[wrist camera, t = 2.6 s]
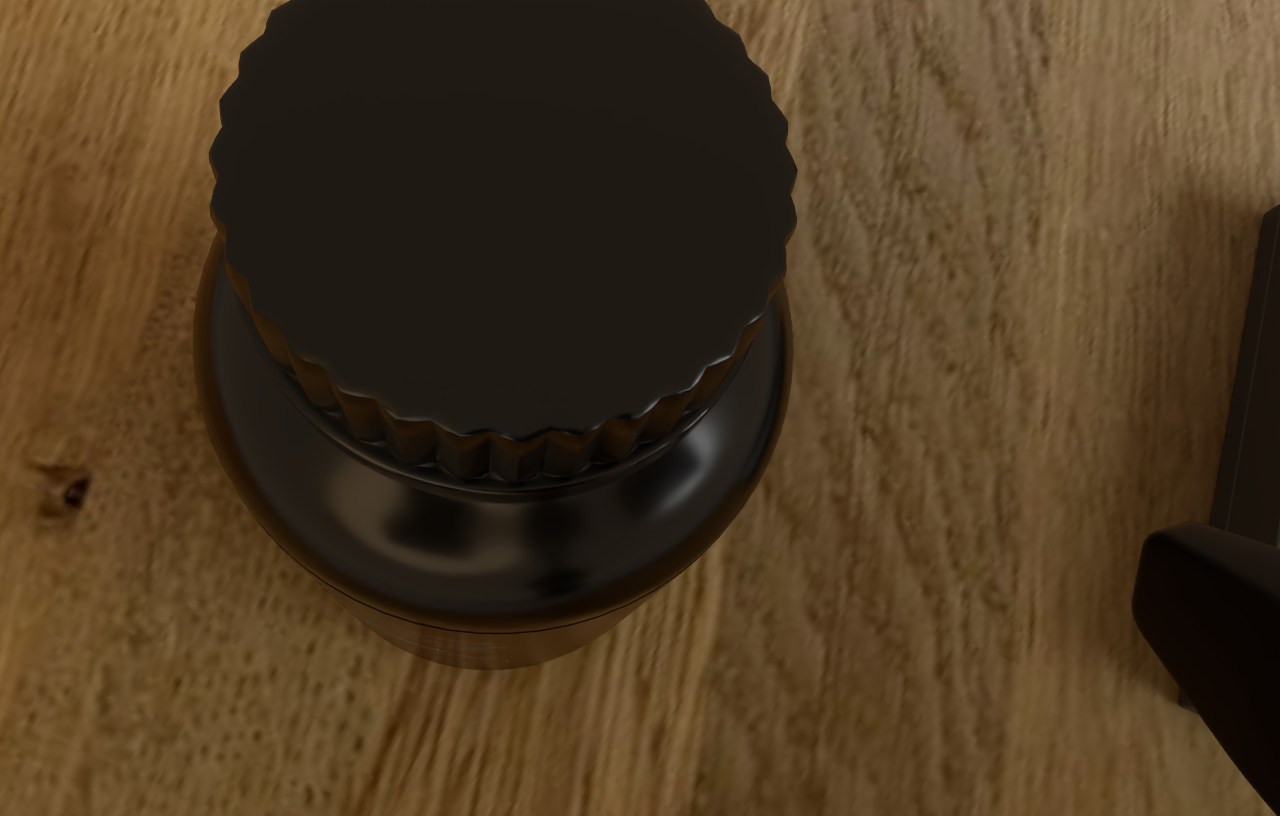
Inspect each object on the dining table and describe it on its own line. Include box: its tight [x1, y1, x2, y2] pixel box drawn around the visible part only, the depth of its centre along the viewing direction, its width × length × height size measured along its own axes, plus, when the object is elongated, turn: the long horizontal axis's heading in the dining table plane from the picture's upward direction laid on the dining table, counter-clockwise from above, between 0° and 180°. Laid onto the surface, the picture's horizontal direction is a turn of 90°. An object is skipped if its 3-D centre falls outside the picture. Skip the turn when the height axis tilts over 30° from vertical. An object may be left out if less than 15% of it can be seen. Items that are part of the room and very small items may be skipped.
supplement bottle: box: [193, 0, 798, 670], centre depth 14 cm, size 7×7×12 cm
